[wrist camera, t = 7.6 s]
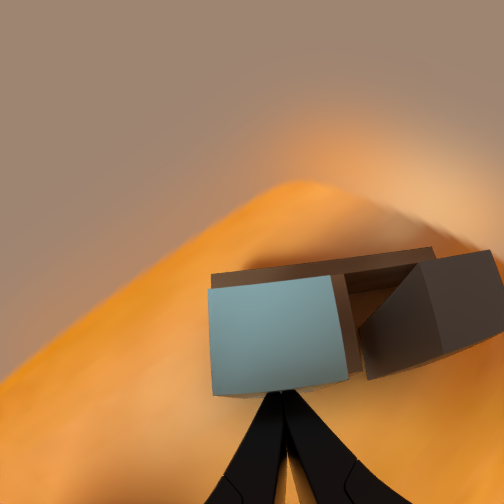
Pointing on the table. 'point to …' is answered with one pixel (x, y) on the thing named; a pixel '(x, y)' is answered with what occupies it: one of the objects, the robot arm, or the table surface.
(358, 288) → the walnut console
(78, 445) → the table surface
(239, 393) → the pale blue tall block
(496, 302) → the dark gray block
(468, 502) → the table surface
